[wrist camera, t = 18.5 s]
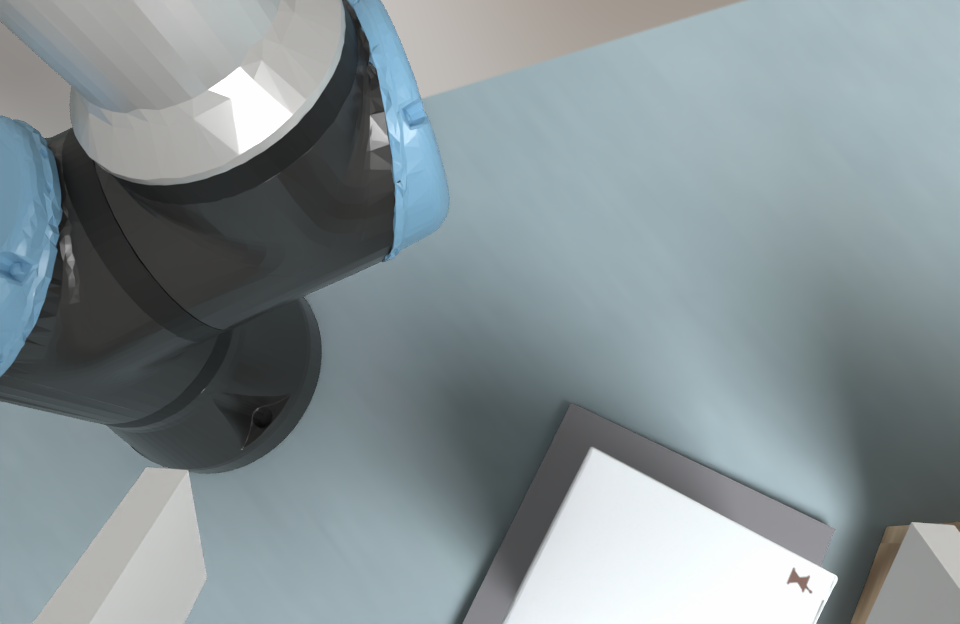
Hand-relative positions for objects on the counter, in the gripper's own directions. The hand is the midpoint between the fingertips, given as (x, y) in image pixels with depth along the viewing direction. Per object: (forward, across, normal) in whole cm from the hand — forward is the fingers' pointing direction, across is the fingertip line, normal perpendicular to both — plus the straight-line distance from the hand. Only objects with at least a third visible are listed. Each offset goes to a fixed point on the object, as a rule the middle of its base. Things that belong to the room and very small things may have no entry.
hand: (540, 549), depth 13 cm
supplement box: (+18, +8, -21) cm, 29 cm away
